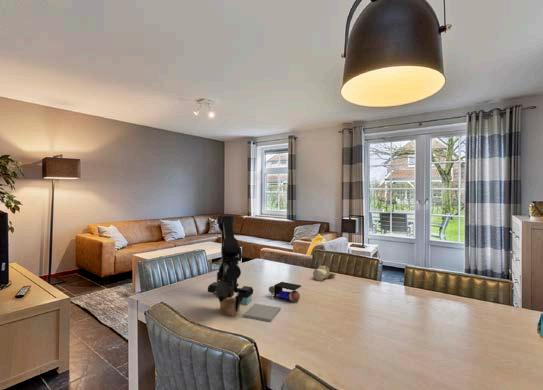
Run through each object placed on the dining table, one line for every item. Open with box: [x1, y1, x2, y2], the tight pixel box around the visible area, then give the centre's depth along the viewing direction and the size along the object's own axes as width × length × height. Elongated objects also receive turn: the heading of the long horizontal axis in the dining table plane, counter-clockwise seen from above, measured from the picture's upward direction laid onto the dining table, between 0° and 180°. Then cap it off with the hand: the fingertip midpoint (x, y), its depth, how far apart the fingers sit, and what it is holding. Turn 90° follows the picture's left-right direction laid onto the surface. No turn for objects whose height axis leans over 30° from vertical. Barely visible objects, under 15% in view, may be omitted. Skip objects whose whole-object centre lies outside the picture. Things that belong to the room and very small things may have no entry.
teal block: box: [236, 293, 253, 306], centre depth 130 cm, size 5×5×5 cm
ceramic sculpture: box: [312, 264, 336, 282], centre depth 167 cm, size 11×9×15 cm
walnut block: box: [219, 297, 241, 317], centre depth 119 cm, size 6×6×5 cm
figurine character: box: [268, 281, 302, 303], centre depth 135 cm, size 7×8×15 cm
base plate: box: [242, 303, 282, 323], centre depth 119 cm, size 12×12×1 cm
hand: (230, 309), depth 119 cm, fingers closed on walnut block, 6 cm apart
